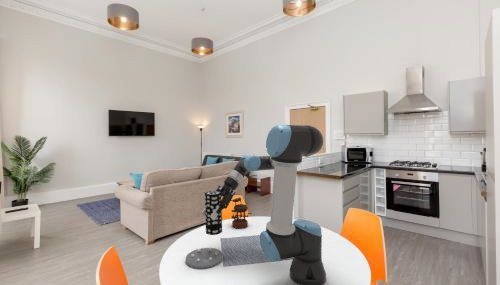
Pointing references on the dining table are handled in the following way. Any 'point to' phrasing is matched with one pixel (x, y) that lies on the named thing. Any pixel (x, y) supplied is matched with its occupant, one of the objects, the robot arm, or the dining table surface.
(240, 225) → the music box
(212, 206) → the white-spotted black cylinder
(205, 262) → the stub plate
